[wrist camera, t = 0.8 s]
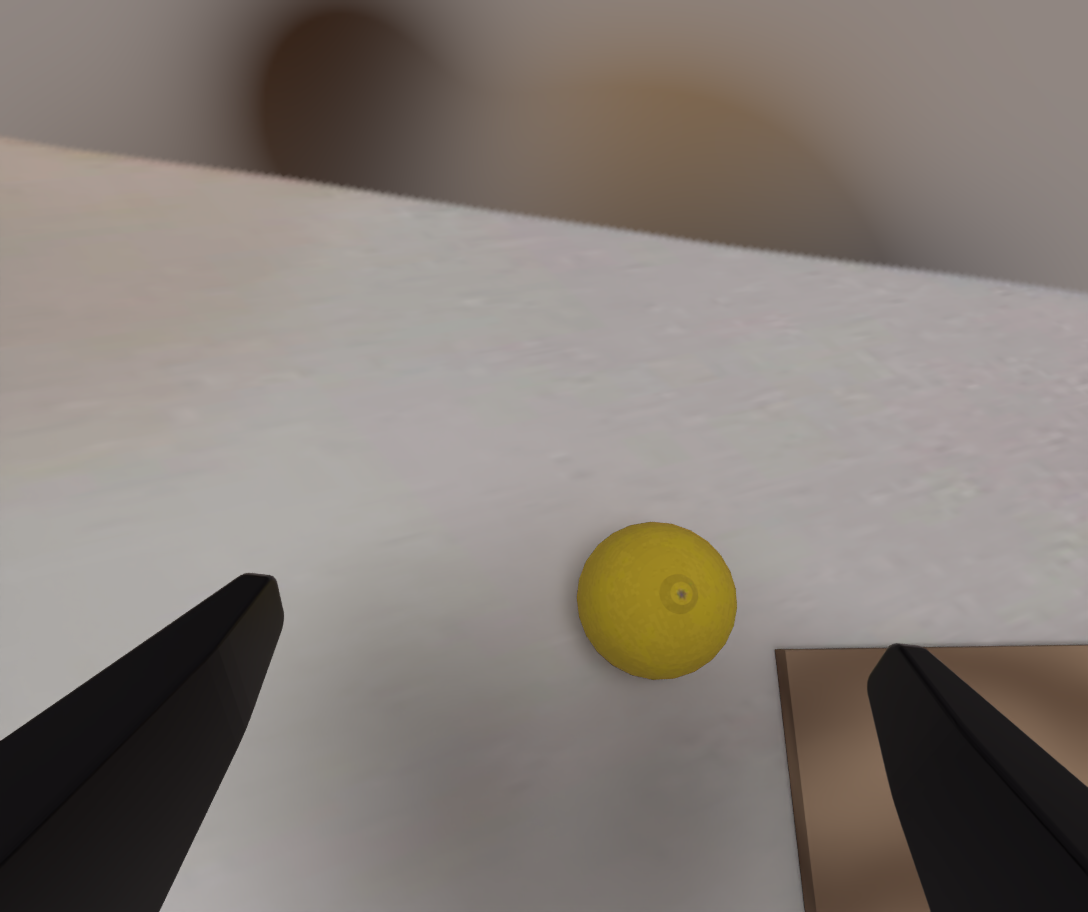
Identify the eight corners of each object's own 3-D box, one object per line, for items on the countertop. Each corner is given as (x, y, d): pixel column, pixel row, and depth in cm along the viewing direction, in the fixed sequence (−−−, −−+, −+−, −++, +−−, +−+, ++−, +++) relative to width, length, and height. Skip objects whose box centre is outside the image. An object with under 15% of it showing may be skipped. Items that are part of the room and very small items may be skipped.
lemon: (543, 591, 25) (553, 578, 18) (639, 513, 26) (688, 468, 19) (625, 699, 24) (675, 735, 16) (722, 613, 25) (811, 609, 18)
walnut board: (1334, 1175, 21) (1373, 1201, 20) (838, 1203, 20) (854, 1232, 19) (1176, 643, 26) (1202, 644, 25) (775, 649, 25) (785, 650, 24)
